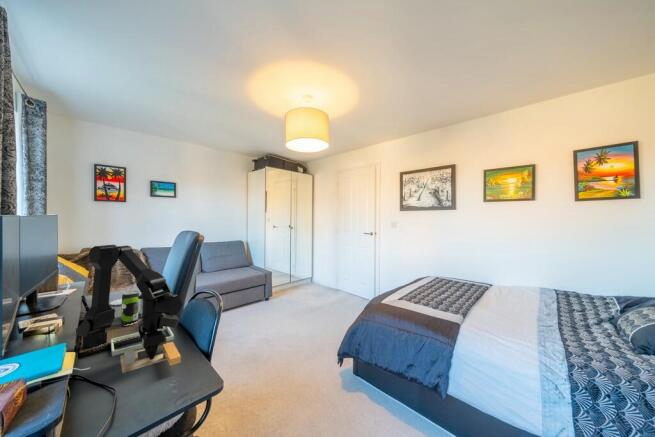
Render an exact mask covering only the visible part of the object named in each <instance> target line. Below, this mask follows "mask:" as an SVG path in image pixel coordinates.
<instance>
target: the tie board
mask: <svg viewBox="0 0 655 437" xmlns="http://www.w3.org/2000/svg"><path fill="white" fill-rule="evenodd" d="M171 342H172V341H168V342H166V341H165V342H162V343H160V344H159V345H158V346H162V345H163V344H167V343H171ZM144 350H145V349H144V348H142V349H138V350H134V351H135V362H134V363H130V364H127V365H125V362H124V355H125V353H123V354H120V355H119V358H120V360H119V361H120V366H121V372H122V374H125V373H128V372H132V371H135V370H137V369H140V368H144V367H147V366H150V365H154V364H158V363H161V362H164V361H168V360H167V358H166V356H165V354H164V352H162V353H159V354H155V357H154V359H152V360H150V359H149V357H145V358H141V359H138V352H140V351H144Z"/></svg>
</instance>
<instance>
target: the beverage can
mask: <svg viewBox="0 0 655 437" xmlns="http://www.w3.org/2000/svg"><path fill="white" fill-rule="evenodd" d="M139 296H140V293H139V290H128V291H124V292H122V296H121V310H120V311H121V312H120V325H121V326H122V325H127V324H131V323H134V322H136V321H138V322H139V306H140V305H139V302H140V299H138V297H139Z"/></svg>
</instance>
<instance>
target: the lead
mask: <svg viewBox="0 0 655 437" xmlns="http://www.w3.org/2000/svg"><path fill="white" fill-rule="evenodd" d="M135 351H136V350H131V351H127V352H125V353H124V354H125V355H124V354H123V355H124V362H125V365H127V364H130V363H134V362H135ZM162 352H163V345H162V346H158V348H157V351H156V354H159V353H162ZM145 357H148V355H147V353H146V351H145V350H144V351H140V352H138V359H141V358H145Z"/></svg>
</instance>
